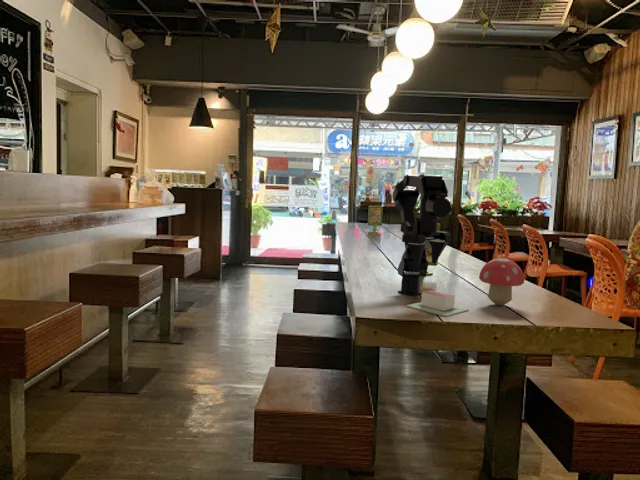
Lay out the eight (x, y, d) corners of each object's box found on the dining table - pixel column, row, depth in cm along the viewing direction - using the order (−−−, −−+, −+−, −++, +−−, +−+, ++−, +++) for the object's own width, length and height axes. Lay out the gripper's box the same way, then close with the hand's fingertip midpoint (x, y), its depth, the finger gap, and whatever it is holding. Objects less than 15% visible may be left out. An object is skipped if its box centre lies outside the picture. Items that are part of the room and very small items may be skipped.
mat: (429, 301, 159) (429, 299, 159) (468, 310, 148) (468, 308, 148) (406, 306, 150) (406, 304, 150) (446, 316, 140) (446, 314, 140)
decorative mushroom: (475, 307, 154) (479, 258, 152) (478, 298, 166) (482, 254, 164) (522, 312, 149) (526, 263, 147) (521, 303, 161) (525, 257, 160)
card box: (453, 308, 148) (454, 295, 148) (444, 310, 145) (445, 297, 144) (430, 303, 154) (431, 290, 154) (421, 305, 150) (422, 292, 150)
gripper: (424, 212, 167) (421, 258, 169) (389, 213, 154) (386, 263, 156) (453, 215, 159) (450, 263, 161) (419, 216, 146) (415, 268, 148)
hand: (425, 264), depth 157 cm, fingers open, 9 cm apart
